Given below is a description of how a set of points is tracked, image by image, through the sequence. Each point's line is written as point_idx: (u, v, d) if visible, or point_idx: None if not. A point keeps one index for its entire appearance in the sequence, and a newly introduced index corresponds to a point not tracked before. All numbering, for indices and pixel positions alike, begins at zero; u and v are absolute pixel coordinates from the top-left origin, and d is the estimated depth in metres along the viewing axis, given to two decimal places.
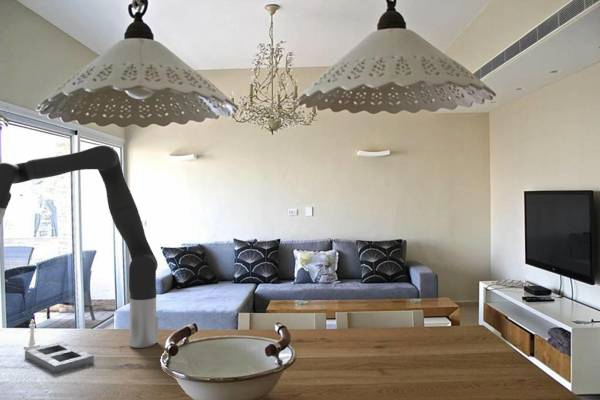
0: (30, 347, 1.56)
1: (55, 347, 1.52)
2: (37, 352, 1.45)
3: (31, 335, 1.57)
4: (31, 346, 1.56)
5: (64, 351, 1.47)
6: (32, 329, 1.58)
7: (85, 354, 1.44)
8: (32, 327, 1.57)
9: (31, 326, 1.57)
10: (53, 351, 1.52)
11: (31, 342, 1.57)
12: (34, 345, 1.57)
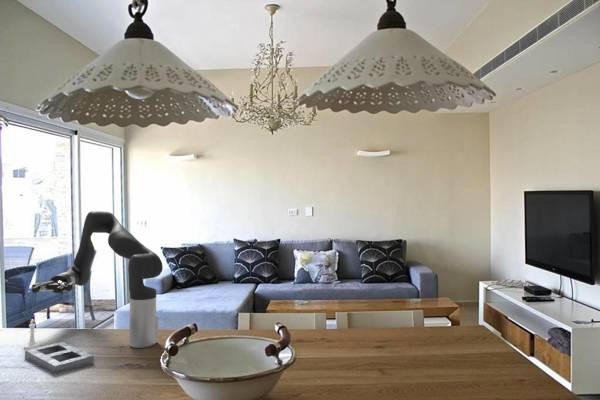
0: (30, 347, 1.56)
1: (55, 347, 1.52)
2: (37, 352, 1.45)
3: (31, 335, 1.57)
4: (31, 346, 1.56)
5: (64, 351, 1.47)
6: (32, 329, 1.58)
7: (85, 354, 1.44)
8: (32, 327, 1.57)
9: (31, 326, 1.57)
10: (53, 351, 1.52)
11: (31, 342, 1.57)
12: (34, 345, 1.57)
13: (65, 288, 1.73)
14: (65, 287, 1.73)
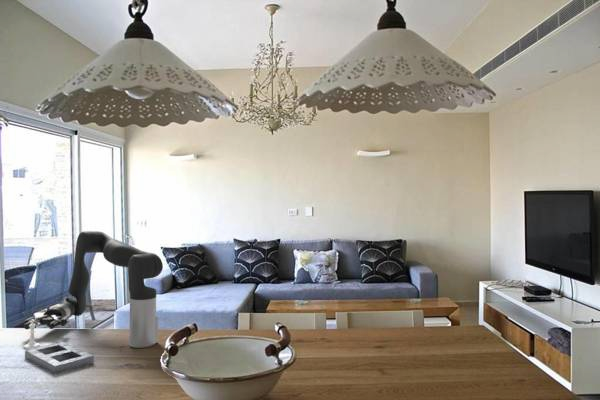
0: (30, 347, 1.56)
1: (55, 347, 1.52)
2: (37, 352, 1.45)
3: (31, 335, 1.57)
4: (31, 346, 1.56)
5: (64, 351, 1.47)
6: (32, 329, 1.58)
7: (85, 354, 1.44)
8: (32, 327, 1.57)
9: (31, 326, 1.57)
10: (53, 351, 1.52)
11: (31, 342, 1.57)
12: (34, 345, 1.57)
13: (59, 323, 1.67)
14: (59, 322, 1.67)
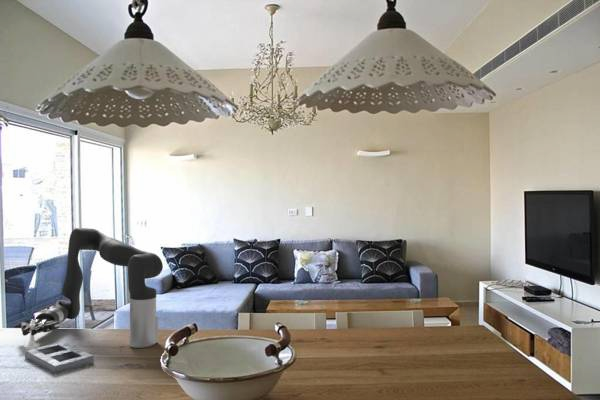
0: (30, 347, 1.56)
1: (55, 347, 1.52)
2: (37, 352, 1.45)
3: (31, 335, 1.57)
4: (31, 346, 1.56)
5: (64, 351, 1.47)
6: None
7: (85, 354, 1.44)
8: (32, 327, 1.57)
9: (31, 326, 1.57)
10: (53, 351, 1.52)
11: (31, 342, 1.57)
12: (34, 345, 1.57)
13: (41, 329, 1.59)
14: (41, 328, 1.59)
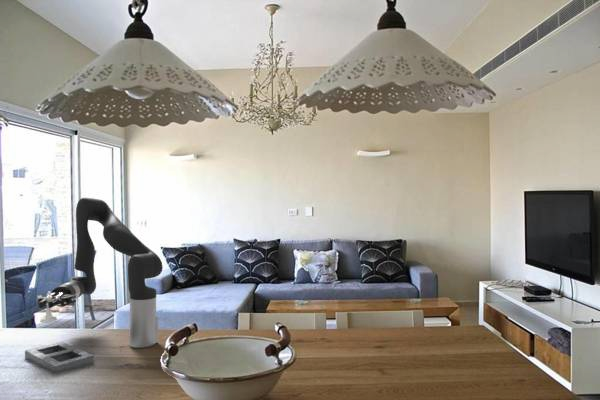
0: (47, 320, 1.48)
1: (55, 347, 1.52)
2: (37, 352, 1.45)
3: (48, 308, 1.50)
4: (48, 319, 1.48)
5: (64, 351, 1.47)
6: None
7: (85, 354, 1.44)
8: (49, 299, 1.49)
9: (48, 298, 1.49)
10: (53, 351, 1.52)
11: (48, 315, 1.49)
12: (51, 318, 1.49)
13: (58, 302, 1.51)
14: (58, 301, 1.51)
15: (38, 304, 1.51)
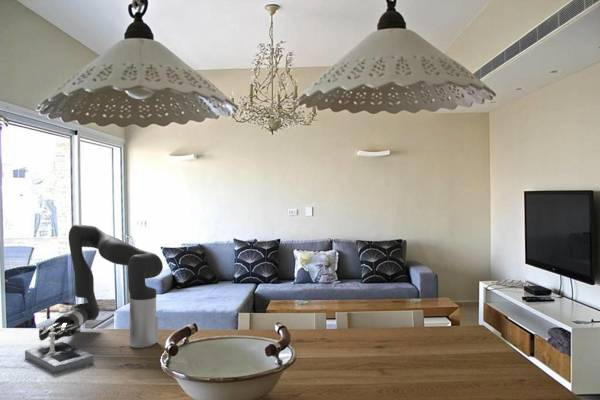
0: None
1: (55, 347, 1.52)
2: (37, 352, 1.45)
3: (51, 344, 1.48)
4: None
5: (64, 351, 1.47)
6: (52, 338, 1.48)
7: (85, 354, 1.44)
8: (52, 336, 1.48)
9: (51, 335, 1.47)
10: None
11: (51, 352, 1.47)
12: None
13: (64, 333, 1.50)
14: (64, 332, 1.50)
15: (39, 335, 1.50)
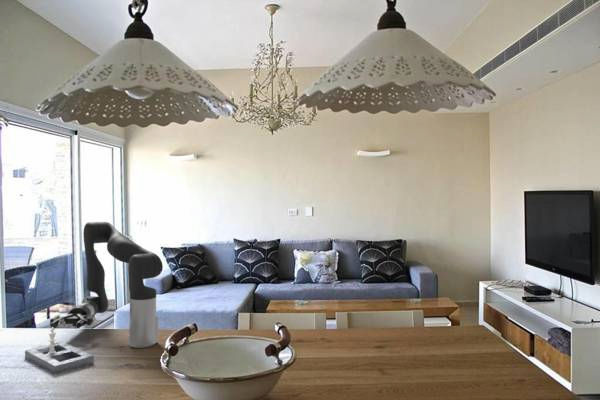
0: None
1: (55, 347, 1.52)
2: (37, 352, 1.45)
3: (51, 344, 1.48)
4: None
5: (64, 351, 1.47)
6: (52, 338, 1.48)
7: (85, 354, 1.44)
8: (52, 336, 1.48)
9: (51, 335, 1.47)
10: None
11: (51, 352, 1.47)
12: None
13: (85, 322, 1.64)
14: (85, 321, 1.64)
15: (50, 324, 1.63)
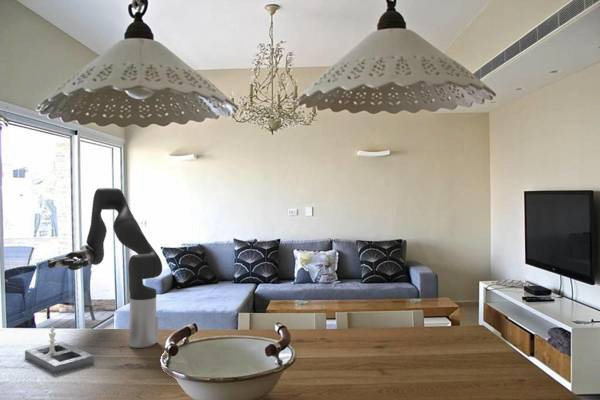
0: None
1: (55, 347, 1.52)
2: (37, 352, 1.45)
3: (51, 344, 1.48)
4: None
5: (64, 351, 1.47)
6: (52, 338, 1.48)
7: (85, 354, 1.44)
8: (52, 336, 1.48)
9: (51, 335, 1.47)
10: None
11: (51, 352, 1.47)
12: None
13: (81, 264, 1.72)
14: (81, 263, 1.72)
15: None
